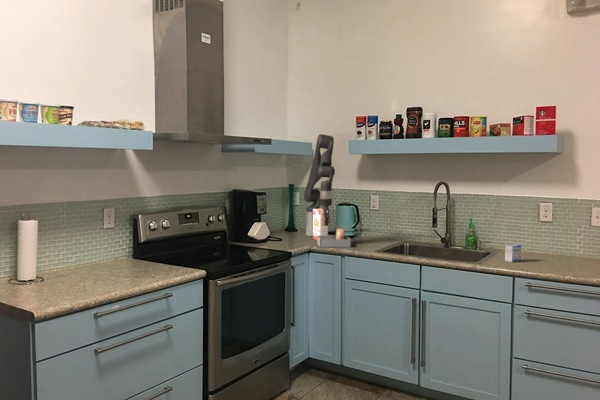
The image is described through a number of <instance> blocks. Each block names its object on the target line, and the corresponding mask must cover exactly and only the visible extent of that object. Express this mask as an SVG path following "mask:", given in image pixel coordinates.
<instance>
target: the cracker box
mask: <svg viewBox="0 0 600 400" xmlns="http://www.w3.org/2000/svg"><path fill="white" fill-rule="evenodd" d="M322 209H323V208H319V209H313V236H312V239H313V240H315V241H317V236H324V235H329V226H322V225H321V217H323V210H322Z"/></svg>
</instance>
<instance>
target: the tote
mask: <svg viewBox="0 0 600 400" xmlns="http://www.w3.org/2000/svg"><path fill="white" fill-rule="evenodd" d="M316 243H317V246H318V247H319V248H320V249H324V248H325V249H328V248H329V249H330V248H332V249H334V248H336V249H337V248H338V249H339V248H343V249H345V248H352V239H351V238H350V237H349V236H348V235H345V234H344V239H336V234H335V235H329V234H328V235H324V236H317V240H316Z"/></svg>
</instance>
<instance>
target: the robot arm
mask: <svg viewBox="0 0 600 400" xmlns="http://www.w3.org/2000/svg"><path fill="white" fill-rule="evenodd" d="M334 140H335V139H334V136H333V135H328V134H322V133H321V134H318V136H317V139H316V145H315V151H314V156H313V159H312V163H311V167H310V171H309V176H308V180H307V183H306V187H305V189H304V194H303V200H304V201H305V202H306V203H311V205H309V206H307V207H306V209H305V212H306V213H305V221H306V222H305V223H306V224H305V235H306V236H308V237H313V209H322V210H323V217H324V219H325V226H326V225H328V219H329V217H330V208H329V207H331V206H333V191H332V189H333V188H332V187H333V179H334V176H335V171H336V170H335V167H334V166H332V163H333V162H332V161H333V159H332V158H333V150H334V144H335V141H334ZM321 149H323V150H325V151H324V152H322V154H321ZM321 178H328V179H327V180H322V181H321V182H320V190H319V188H314V187H315V186H316V184H317V183H318V182H319V181H320V180H321ZM320 206H321V207H322V208H321V207H320Z"/></svg>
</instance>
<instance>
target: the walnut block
mask: <svg viewBox="0 0 600 400" xmlns="http://www.w3.org/2000/svg"><path fill="white" fill-rule="evenodd" d="M321 225H322V226H325V219H324V217H321ZM326 226H328V227H331V217H330V216H329V219H328V225H326Z"/></svg>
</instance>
